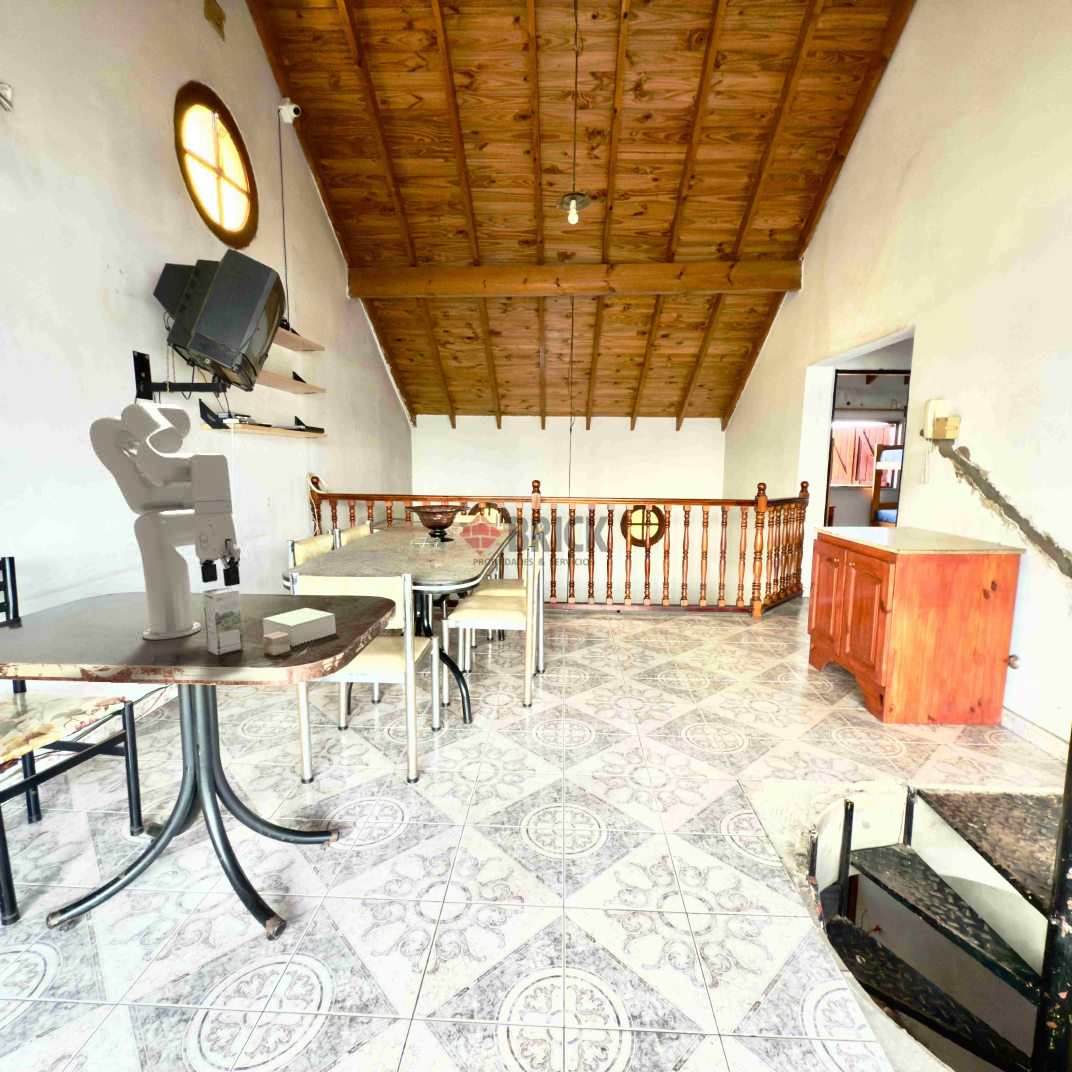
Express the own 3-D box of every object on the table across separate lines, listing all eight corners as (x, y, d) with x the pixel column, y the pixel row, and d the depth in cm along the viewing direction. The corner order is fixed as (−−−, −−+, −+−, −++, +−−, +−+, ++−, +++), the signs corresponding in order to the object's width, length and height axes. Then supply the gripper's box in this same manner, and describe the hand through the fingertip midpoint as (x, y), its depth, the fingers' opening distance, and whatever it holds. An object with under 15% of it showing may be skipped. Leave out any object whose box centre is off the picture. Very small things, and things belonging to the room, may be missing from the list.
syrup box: (233, 644, 135) (227, 585, 133) (244, 649, 132) (238, 589, 130) (207, 651, 131) (201, 590, 129) (218, 656, 127) (212, 593, 125)
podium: (264, 638, 140) (262, 618, 139) (307, 625, 150) (305, 607, 149) (292, 646, 134) (291, 625, 133) (335, 633, 143) (334, 613, 143)
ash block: (264, 652, 130) (262, 635, 129) (280, 647, 133) (278, 631, 132) (274, 655, 128) (272, 638, 127) (290, 650, 131) (289, 634, 130)
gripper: (177, 509, 129) (185, 583, 131) (216, 510, 119) (224, 590, 121) (210, 507, 135) (218, 577, 137) (250, 507, 125) (257, 583, 127)
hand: (221, 583), depth 129 cm, fingers open, 9 cm apart
